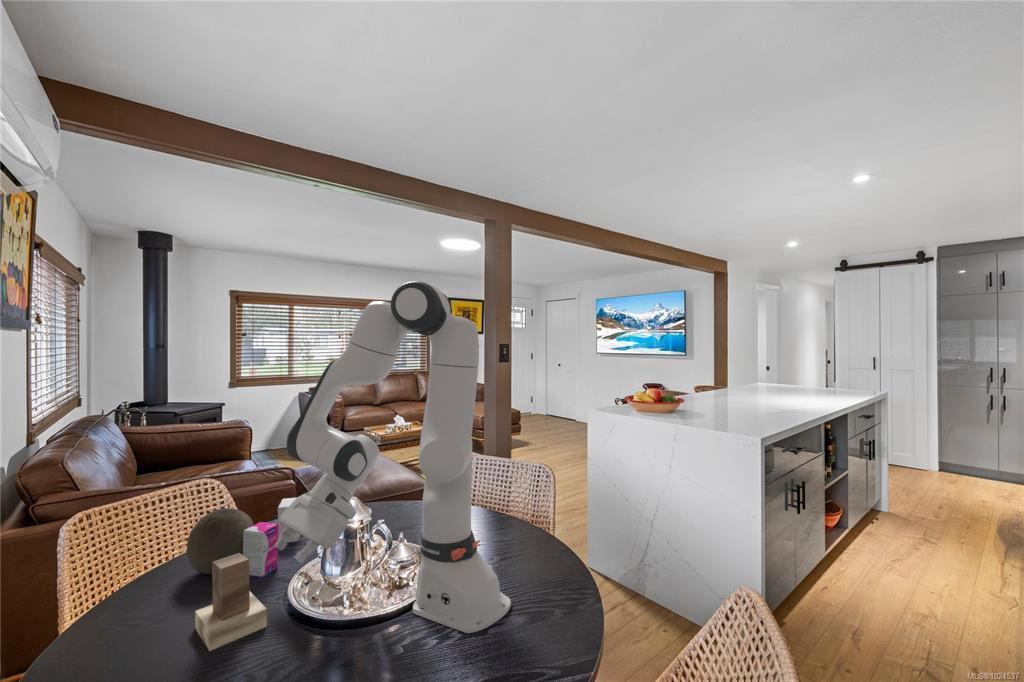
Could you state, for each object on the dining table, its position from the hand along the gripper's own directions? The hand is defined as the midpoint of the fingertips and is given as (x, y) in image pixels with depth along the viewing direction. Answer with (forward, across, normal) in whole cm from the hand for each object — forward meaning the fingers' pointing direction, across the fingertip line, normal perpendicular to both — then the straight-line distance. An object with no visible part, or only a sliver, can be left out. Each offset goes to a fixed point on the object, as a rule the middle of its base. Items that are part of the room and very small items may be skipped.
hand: (287, 554), depth 100 cm
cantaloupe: (+10, -28, +5) cm, 31 cm away
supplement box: (+6, -19, +9) cm, 22 cm away
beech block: (+16, -1, 0) cm, 16 cm away
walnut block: (+13, 0, -3) cm, 13 cm away
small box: (-4, -34, +19) cm, 40 cm away
